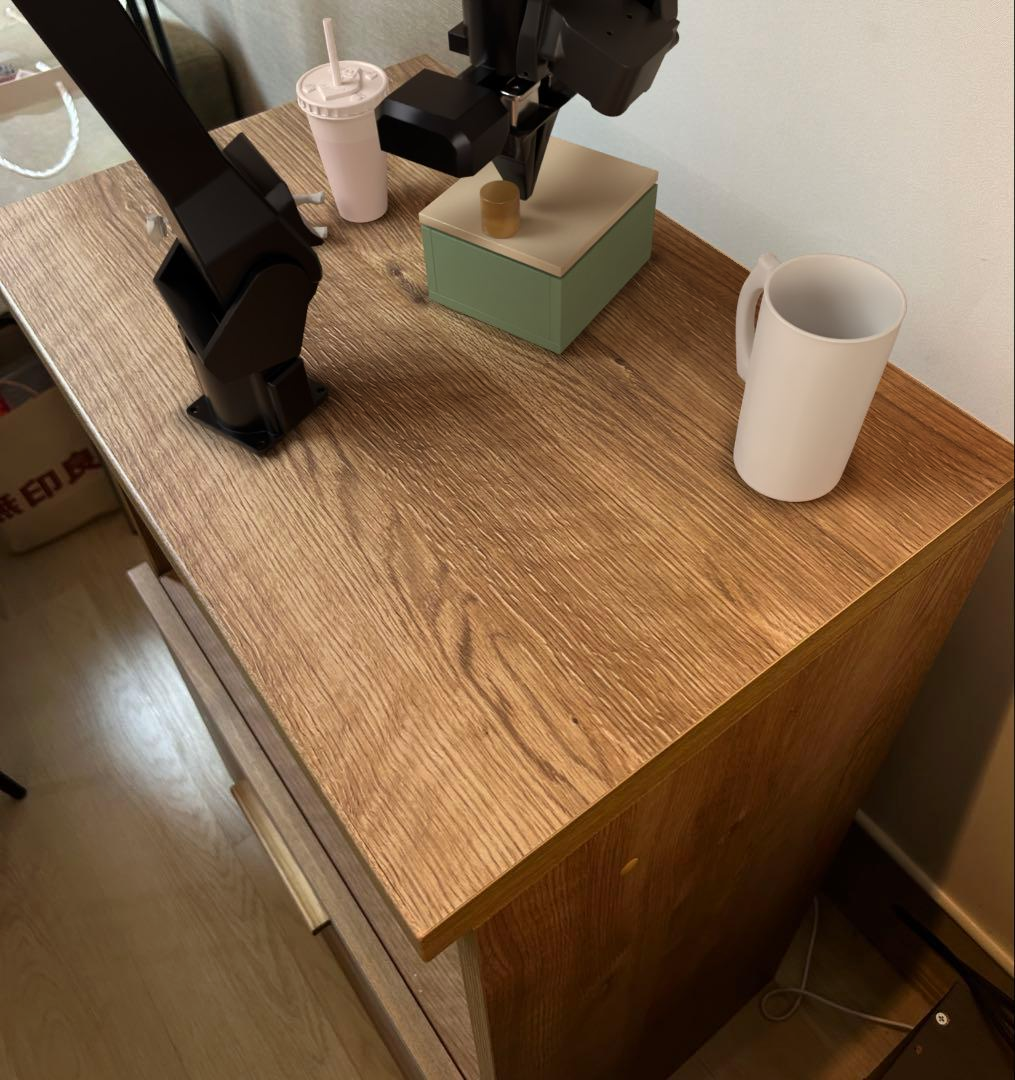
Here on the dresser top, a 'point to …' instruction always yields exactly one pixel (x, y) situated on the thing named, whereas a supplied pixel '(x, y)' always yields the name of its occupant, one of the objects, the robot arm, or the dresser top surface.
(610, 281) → the box
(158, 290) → the robot arm
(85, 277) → the dresser top surface
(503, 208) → the slide lid
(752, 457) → the mug
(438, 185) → the dresser top surface
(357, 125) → the smoothie
